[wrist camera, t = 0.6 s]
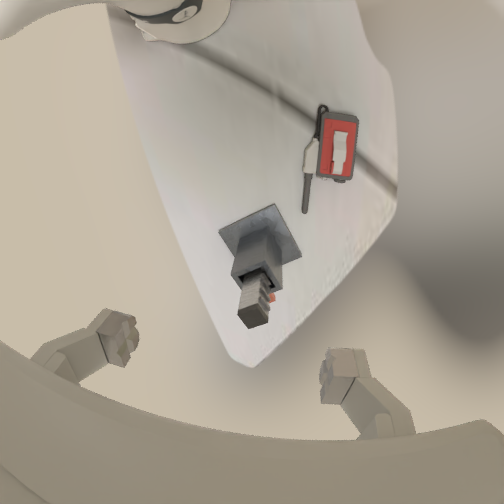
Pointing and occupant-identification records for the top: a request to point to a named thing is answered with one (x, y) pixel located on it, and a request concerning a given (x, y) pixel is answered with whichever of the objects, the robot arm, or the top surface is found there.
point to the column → (255, 298)
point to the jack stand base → (260, 246)
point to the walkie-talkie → (331, 150)
